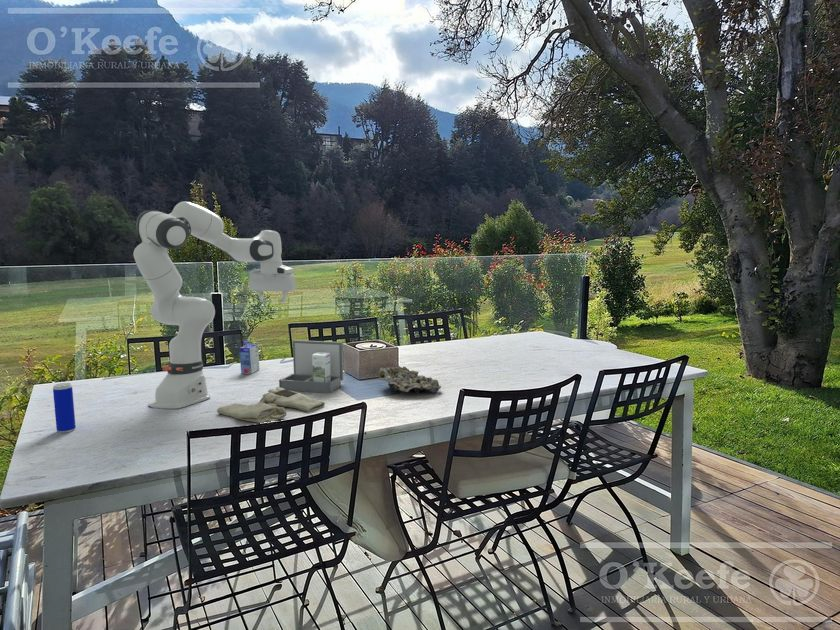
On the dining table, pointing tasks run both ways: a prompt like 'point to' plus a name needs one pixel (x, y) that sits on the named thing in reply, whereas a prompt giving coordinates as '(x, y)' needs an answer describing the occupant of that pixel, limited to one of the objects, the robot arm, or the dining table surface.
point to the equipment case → (304, 370)
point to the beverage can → (64, 407)
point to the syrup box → (321, 367)
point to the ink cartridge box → (249, 358)
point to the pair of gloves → (271, 406)
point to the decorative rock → (407, 380)
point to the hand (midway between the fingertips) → (272, 301)
